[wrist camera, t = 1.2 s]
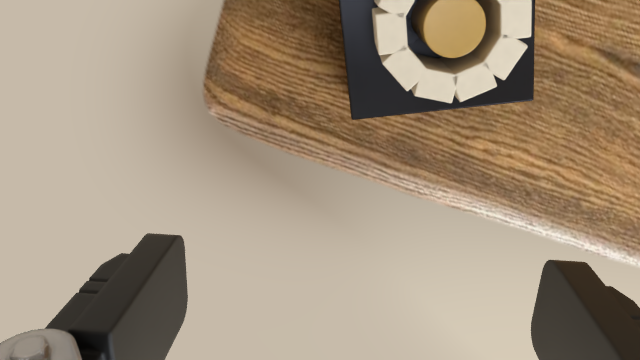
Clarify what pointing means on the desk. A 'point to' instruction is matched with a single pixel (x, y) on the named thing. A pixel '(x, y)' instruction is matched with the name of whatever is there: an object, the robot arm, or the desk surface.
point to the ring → (453, 73)
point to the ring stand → (430, 40)
